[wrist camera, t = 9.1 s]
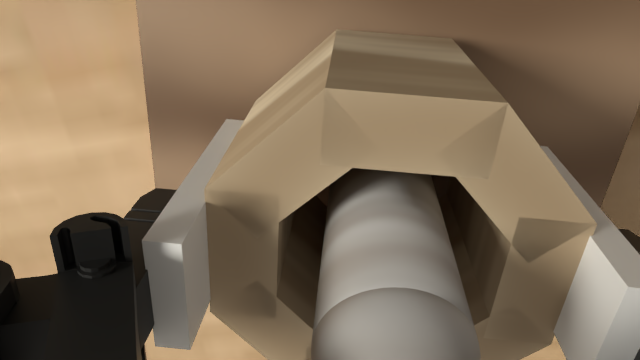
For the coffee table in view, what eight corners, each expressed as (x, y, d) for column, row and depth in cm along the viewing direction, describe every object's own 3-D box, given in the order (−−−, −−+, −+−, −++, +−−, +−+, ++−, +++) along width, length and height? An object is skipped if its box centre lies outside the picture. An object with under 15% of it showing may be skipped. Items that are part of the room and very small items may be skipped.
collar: (256, 23, 15) (198, 77, 9) (533, 44, 14) (640, 113, 9) (255, 249, 18) (213, 380, 13) (475, 269, 18) (524, 411, 13)
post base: (145, -96, 15) (-355, -152, 5) (670, -59, 15) (1497, -25, 4) (177, 265, 22) (2, 591, 11) (542, 301, 21) (728, 680, 10)
